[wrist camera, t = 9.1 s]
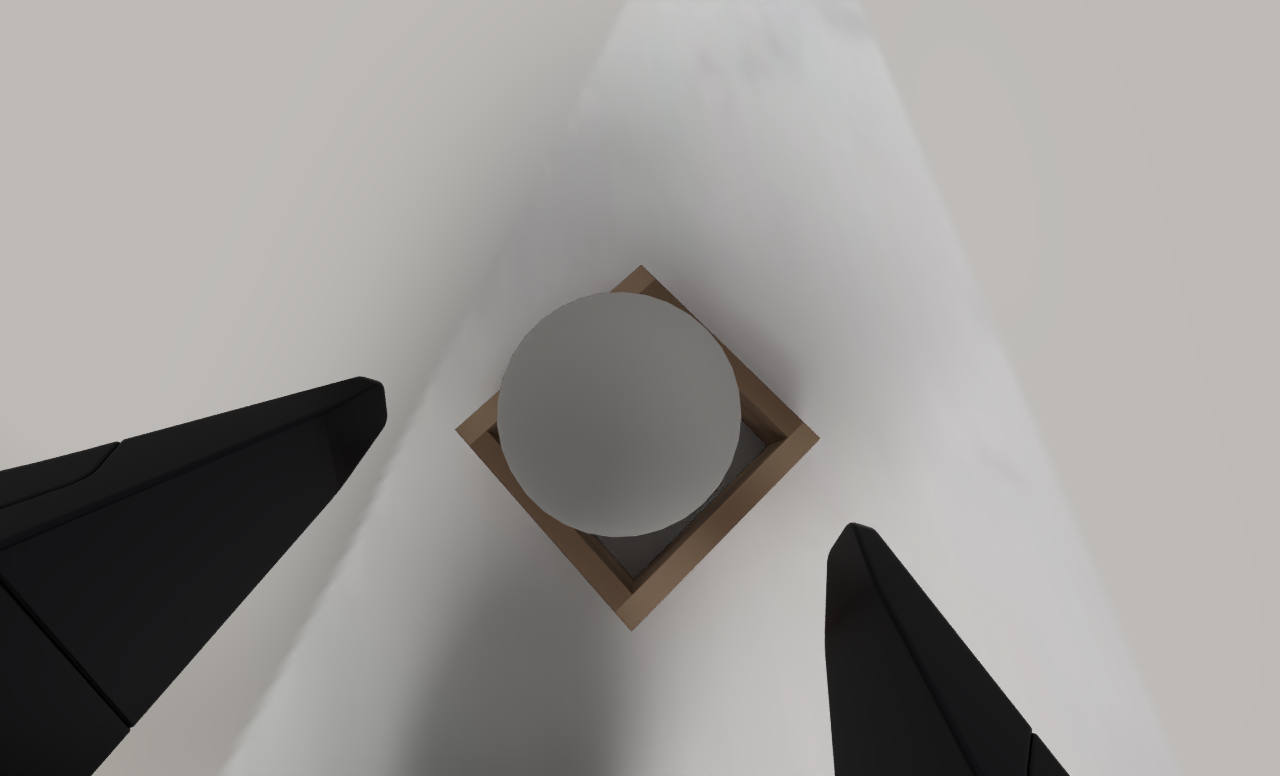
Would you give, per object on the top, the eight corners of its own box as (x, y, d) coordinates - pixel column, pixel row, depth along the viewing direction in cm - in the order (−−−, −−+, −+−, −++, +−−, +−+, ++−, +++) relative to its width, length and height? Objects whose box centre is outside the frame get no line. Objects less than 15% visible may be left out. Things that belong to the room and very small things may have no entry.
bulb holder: (633, 610, 19) (631, 631, 16) (482, 438, 21) (454, 429, 18) (794, 446, 20) (820, 438, 17) (641, 295, 22) (641, 264, 19)
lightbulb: (725, 489, 20) (818, 484, 9) (583, 540, 20) (506, 599, 9) (673, 352, 21) (701, 209, 10) (538, 399, 21) (424, 300, 10)
